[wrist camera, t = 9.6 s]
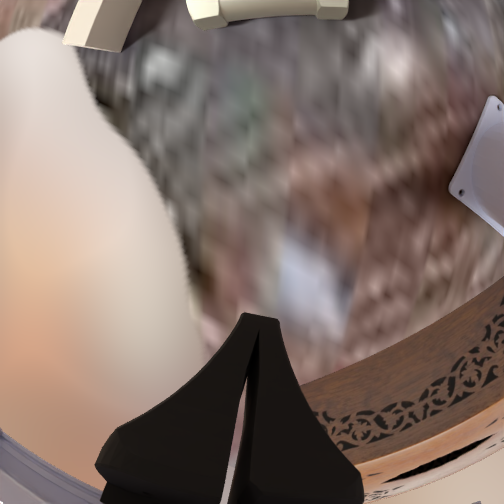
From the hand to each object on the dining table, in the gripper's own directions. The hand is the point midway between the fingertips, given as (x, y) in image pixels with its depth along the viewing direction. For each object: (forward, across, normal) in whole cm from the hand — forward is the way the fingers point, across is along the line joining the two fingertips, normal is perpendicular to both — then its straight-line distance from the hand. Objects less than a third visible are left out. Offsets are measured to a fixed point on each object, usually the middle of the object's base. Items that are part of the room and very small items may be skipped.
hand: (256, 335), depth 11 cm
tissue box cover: (+10, -18, +12) cm, 24 cm away
